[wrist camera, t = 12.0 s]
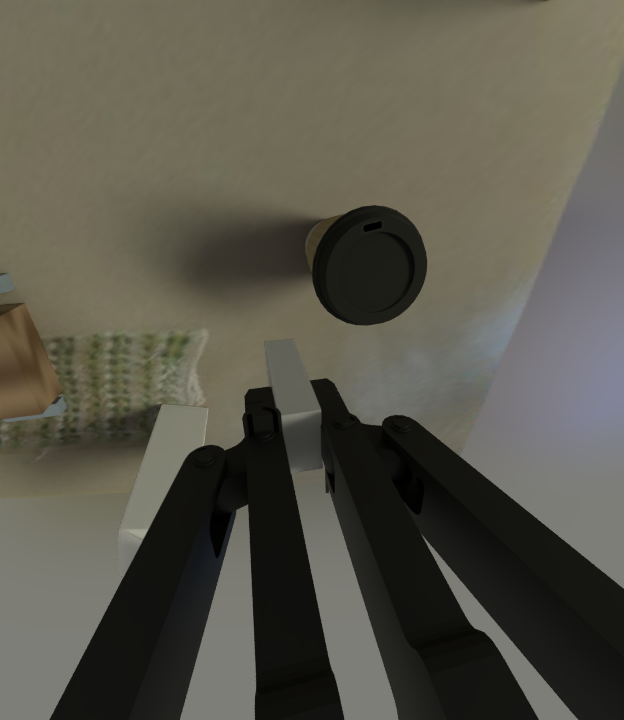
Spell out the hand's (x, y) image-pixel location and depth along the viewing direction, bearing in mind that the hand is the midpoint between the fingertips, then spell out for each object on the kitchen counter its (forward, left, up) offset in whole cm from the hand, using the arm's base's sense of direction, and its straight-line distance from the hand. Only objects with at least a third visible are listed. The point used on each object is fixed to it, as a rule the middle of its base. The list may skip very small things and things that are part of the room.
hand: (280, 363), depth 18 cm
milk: (+20, -12, -25) cm, 34 cm away
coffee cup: (-2, +9, -25) cm, 26 cm away
